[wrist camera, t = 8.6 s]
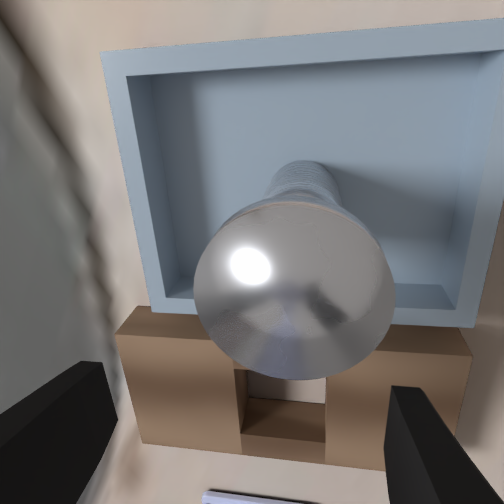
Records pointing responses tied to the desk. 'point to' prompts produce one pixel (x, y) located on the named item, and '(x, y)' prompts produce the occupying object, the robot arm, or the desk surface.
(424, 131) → the tray
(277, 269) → the steel pin
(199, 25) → the desk surface
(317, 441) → the brown flat block
